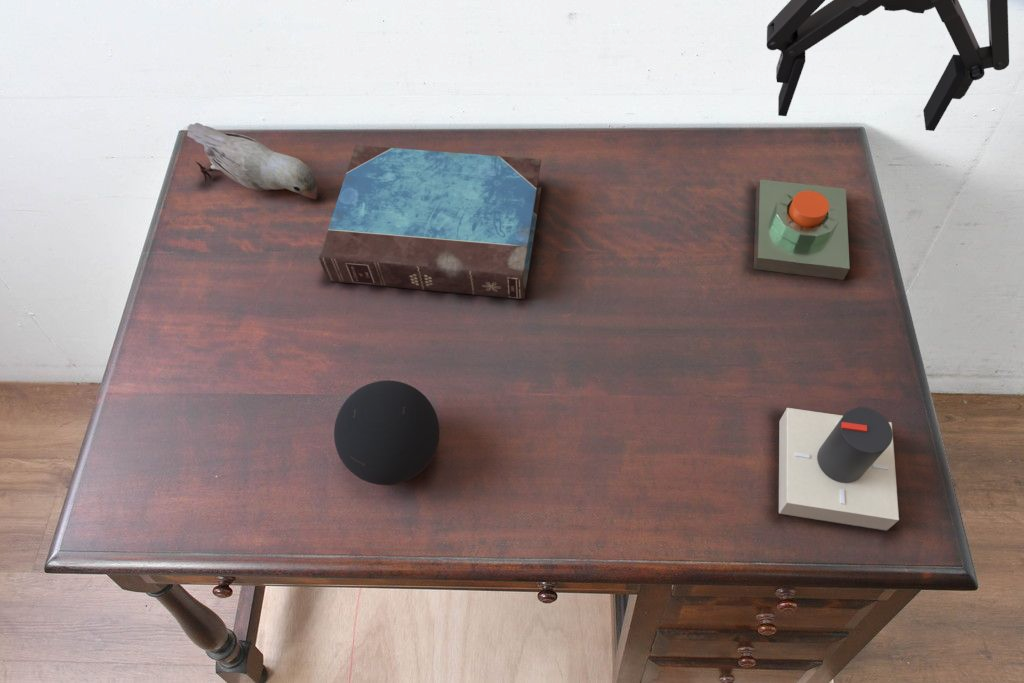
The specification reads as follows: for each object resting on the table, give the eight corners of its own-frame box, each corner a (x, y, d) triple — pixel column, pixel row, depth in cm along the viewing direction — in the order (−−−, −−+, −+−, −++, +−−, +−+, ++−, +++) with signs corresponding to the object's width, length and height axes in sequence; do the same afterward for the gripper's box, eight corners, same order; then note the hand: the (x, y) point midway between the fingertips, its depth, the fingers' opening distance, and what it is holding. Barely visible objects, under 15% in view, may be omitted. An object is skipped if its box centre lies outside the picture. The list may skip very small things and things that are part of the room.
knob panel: (887, 530, 75) (900, 519, 72) (778, 513, 76) (787, 502, 73) (880, 435, 80) (892, 421, 77) (779, 420, 81) (787, 406, 79)
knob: (863, 443, 76) (892, 409, 70) (866, 486, 74) (895, 455, 68) (816, 437, 77) (840, 402, 71) (817, 479, 75) (842, 447, 68)
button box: (843, 280, 90) (855, 258, 87) (753, 269, 91) (761, 247, 88) (840, 200, 96) (850, 177, 93) (755, 191, 97) (763, 168, 94)
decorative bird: (309, 215, 98) (292, 172, 91) (197, 184, 101) (174, 140, 95) (329, 184, 100) (314, 140, 94) (219, 155, 104) (198, 110, 97)
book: (328, 284, 92) (318, 257, 88) (363, 172, 101) (355, 143, 97) (523, 302, 90) (522, 276, 86) (541, 186, 99) (541, 157, 95)
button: (825, 229, 89) (829, 219, 88) (788, 225, 90) (792, 215, 88) (824, 202, 92) (828, 192, 90) (788, 198, 92) (792, 188, 91)
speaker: (438, 402, 84) (427, 353, 75) (450, 491, 78) (438, 450, 70) (344, 417, 83) (321, 370, 75) (348, 508, 78) (325, 468, 69)
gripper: (777, -90, 58) (721, 127, 76) (1147, -64, 55) (996, 155, 73) (778, -146, 62) (724, 74, 80) (1124, -124, 59) (986, 99, 77)
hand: (854, 113), depth 77 cm, fingers open, 13 cm apart
